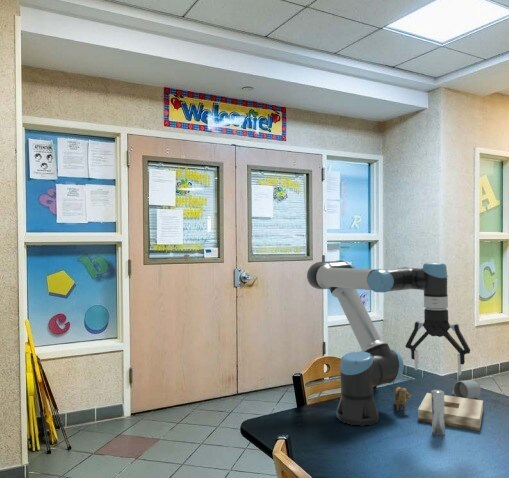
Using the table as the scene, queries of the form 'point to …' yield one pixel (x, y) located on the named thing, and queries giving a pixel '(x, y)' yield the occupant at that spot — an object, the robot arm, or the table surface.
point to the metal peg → (438, 412)
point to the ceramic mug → (466, 389)
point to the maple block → (455, 411)
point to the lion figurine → (401, 397)
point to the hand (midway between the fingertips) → (437, 371)
